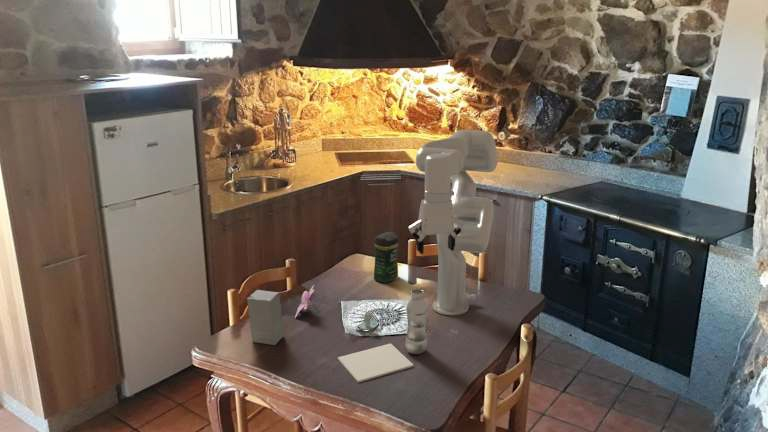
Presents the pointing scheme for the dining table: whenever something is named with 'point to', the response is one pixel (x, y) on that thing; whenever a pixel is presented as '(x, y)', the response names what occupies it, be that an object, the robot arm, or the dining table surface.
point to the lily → (306, 300)
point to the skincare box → (265, 317)
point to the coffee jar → (386, 257)
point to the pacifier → (367, 323)
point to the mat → (374, 362)
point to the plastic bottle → (416, 323)
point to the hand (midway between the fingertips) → (435, 250)
